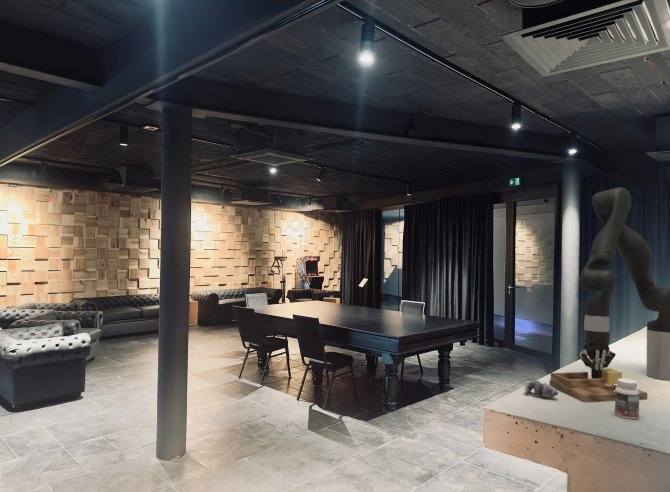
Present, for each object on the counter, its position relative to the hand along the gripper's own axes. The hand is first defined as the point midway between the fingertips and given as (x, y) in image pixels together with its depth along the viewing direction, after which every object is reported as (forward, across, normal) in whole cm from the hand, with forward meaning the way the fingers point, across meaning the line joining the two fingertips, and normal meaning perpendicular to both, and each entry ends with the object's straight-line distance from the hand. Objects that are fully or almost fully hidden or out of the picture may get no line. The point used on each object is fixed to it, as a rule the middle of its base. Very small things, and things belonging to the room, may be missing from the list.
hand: (596, 380), depth 154 cm
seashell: (+3, +24, +5) cm, 24 cm away
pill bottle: (+3, +10, +24) cm, 26 cm away
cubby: (+1, +7, 0) cm, 7 cm away
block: (+1, -5, 0) cm, 5 cm away
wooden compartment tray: (+3, +3, +4) cm, 5 cm away
